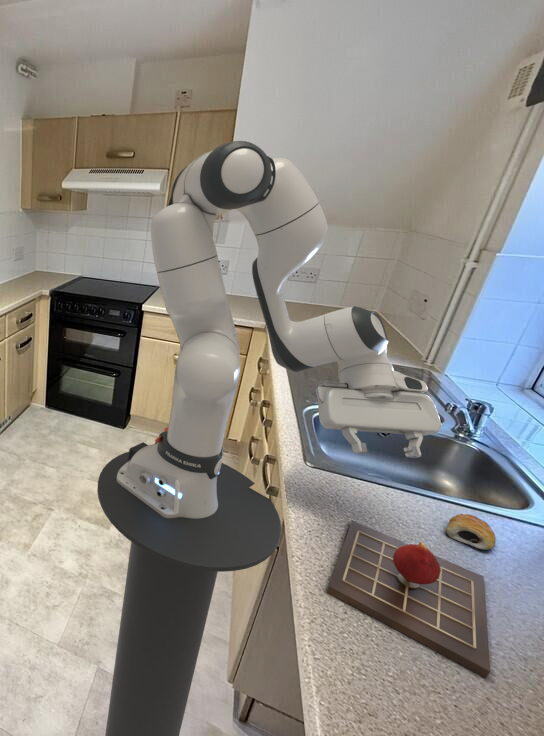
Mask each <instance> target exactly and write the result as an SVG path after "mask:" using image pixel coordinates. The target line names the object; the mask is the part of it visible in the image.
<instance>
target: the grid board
mask: <svg viewBox="0 0 544 736" xmlns="http://www.w3.org/2000/svg"><path fill="white" fill-rule="evenodd" d="M408 544H409V543H406V542H404V541H402V540H399V539H398V538H396V537H392V536H390V535H388V534H386V533H383V532H381V531H379V530H376V529H375V528H371V527H370V526H367V525H365V524H362V523H360V522H357V521H356V520H353V519H352V520H351V522H350V524H349V527H348V529H347V533H346V535H345V538H344V542H343V545H342V547H341V551H340V553H339V556H338V559H337V562H336V565H335V567H334V570H333V574H332V576H331V580H330V583H329V585H328V588H327V590H326V592H327V594H329V595H331V596H333V597H334V598H337V599H338V600H340V601H342V602H344V603H346V604H349V605H350V606H351V607H353V608H355V609H357V610H359V611H360V612H363V613H364V614H366V615H368V616H370V617H372V618H374V619H376V620H377V621H379V622H381V623H382V624H384V625H387V626H389V627H390V628H392V629H394V630H396V631H398V632H399V633H402V634H403V635H405V636H407V637H409V638H410V639H413V640H415V641H417V642H418V643H420V644H422V645H424V646H425V647H427V648H429V649H431V650H433V651H435V652H437V653H438V654H441V655H442V656H444V657H446V658H448V659H449V660H452V661H453V662H455V663H457V664H459V665H461V666H463V667H465V668H466V669H468V670H470V671H472V672H473V673H475V674H478V675H479V676H481V677H482V678H485V679H487V678H488V675H489V674H490V673H491V664H490V647H489V634H488V620H487V605H486V590H485V577H484V575H481V574H479V573H477V572H474V571H472V570H470V569H468V568H465V567H463V566H461V565H458V564H456V563H453V562H451V561H448V560H447V559H445V558H442V557H439V556H437V555H435V554H434V556H435V558H436V559H437V561H438V562H439V565H440V568H441V572H440V576H439V577H438V579H437V580H436V581H435V582H434V583H431V584H416V583H412V582H409V581H407V580H406V579H405V578H404V577H403V576H402V575H401V574H400V573H399V572H398V570H397V569H396V567H395V565H394V561H393V556H394V553H395V552H396V550H397V549H398V548H399V547H401V546H404V545H408Z"/></svg>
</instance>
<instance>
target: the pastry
mask: <svg viewBox="0 0 544 736" xmlns="http://www.w3.org/2000/svg"><path fill="white" fill-rule="evenodd" d="M445 532H446V534H447V536H448V537H449V538H451V539H453V540H456V541H458V542H460V543H462V544H466V545H469V546H471V547H474V548H476V549H479V550H486V551H487V550H490V549H493V548H495V546H496V540H497V538H496V534H495V532H494V530H492V528H491V526H490V525H489V524H488V522H487V521H484V520H482V519H481V518H479V517H478V516H475V515H474V514H469V513H465V514H464V513H460V514H459V513H458V514H456V515H454V516H452V517H451V518H450V519H449V520H448V523H447V526H446V528H445Z"/></svg>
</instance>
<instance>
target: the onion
mask: <svg viewBox="0 0 544 736" xmlns="http://www.w3.org/2000/svg"><path fill="white" fill-rule="evenodd" d="M407 544H408V545H404V546H401V547H399V548H398V549H397V550H396V552H395V553H394V556H393V561H394V565H395V567H396V569H397V570H398V572H399V573H400V574H401V575H402V576H403V577H404V578H405V579H406V580H407V581H409V582H412V583H416V584H431V583H434V582H435V581H436V580H437V579H438V577H439V576H440V572H441V568H440V565H439V562H438V561H437V559H436V558H435V556H436V555H435V554H434V553H433V552H432V551H431V550H430V549H429V548H428V547H427V545H426V543H424V542H422V541H420V542H419V543H418V544H414V543H410V544H409V543H407ZM434 555H435V556H434Z"/></svg>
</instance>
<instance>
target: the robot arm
mask: <svg viewBox="0 0 544 736" xmlns="http://www.w3.org/2000/svg"><path fill="white" fill-rule="evenodd" d="M233 210H235V211H238V212H239V213H240V214H242V216H243V217H244V218H245V219H246V220H247V222H248V224H249V226H250V229H251V230H252V233H253V234H254V237H255V239H256V242H257V248H258V252H257V253H258V254H257V257H256V258H255V259H254V260H253V262H252V266H251V274H252V275H251V276H252V280H253V285H254V289H255V292H256V296H257V299H258V300H257V301H258V302H259V307H260V310H261V313H262V316H263V319H264V323H265V326H266V330H267V334H268V336H269V338H268V339H269V343H270V349H271V354H272V356H273V358H274V361H275V362H276V364H277V365H278V366H280V367H281V368H284V369H285V370H288V371H291V372H294V373H298V372H302V371H306V370H309V369H312V368H315V367H317V366H322V365H326V364H332V363H335V362H336V363H337V366H338V367H337V368H338V369H337V376H338V379H339V382H329V381H327V382H326V381H325V382H322V383H320V384H319V385H317V386H316V388H315V393H316V398H317V400H318V402H317V404H318V406H317V407H318V418H319V423H320V426H322V427H323V428H324V429H326V430H338V431H339V430H340V431H341V434H342V436H343V437H344V438H345V439H346V441H347V442H348V443H349V444H350V445H351V449H352V452H353V453H354V454H360V455H364V454H367V453H368V450H369V449H368V448H367V447H368V446H367V443H366V442H362V441H361V440H360V439H359V437H358V436H357V434H358V432H367V433H382V434H383V433H384V434H395V435H397V434H398V435H404V436H405V439H406V440H408V441H409V442H408V446H406V447H403V451H404V453H405V454H404V455H405V457H406V458H412V459H417V458H421V457H422V452H421V449H420V447H421V445H422V441H423V440H424V436H430V435H434V434H437V433H439V432H440V430H441V429H442V422H441V418H440V415H439V412H438V409H437V407H436V404H435V403H434V401H433V399H432V398H431V397H430V396H429V395H428V394H426V393H425V392H427V391H428V389H429V388H428V385H427V383H426V382H425V381H423V380H421V379H419V378H415V377H412V376H409V375H406V374H403V373H401V372H399V371H397V370H395V369H394V366H393V364H392V362H391V361H390V359H389V358H388V354H387V352H388V343H389V338H388V335H387V332H386V329H385V326H384V323H383V321H382V318H381V317H380V316H379V315H378V314H377V313H376V312H374V311H371V310H369V309H367V308H364V307H360V306H349V307H345V308H340V309H337V310H334V311H331V312H327V313H325V314H322V315H318V316H314V317H311V318H308V319H305V320H300V321H293V320H291V319H290V315H289V312H288V308H287V304H286V301H285V299H284V298H285V297H284V294H283V289H282V285H283V283H284V282H285V281H286V280H287V279H288V278H289V277H290V276H291V275H293V274H294V273H295V272H296V271H297V270H298V269H300V268H301V267H303V266H304V265H306V263H307V262H309V261H310V260H311V259H312V258H313V257H314V256H315V255H316V254H317V252H318V251H320V249H321V247H322V246H323V245H324V242H325V240H326V239H327V235H328V230H329V225H328V222H327V218H326V215H325V212H324V210H323V208H322V205H321V204H320V201H319V199H318V198H317V196H316V194H315V192H314V190H313V188H312V187H311V185H310V184H309V182H308V180H307V179H306V177H305V176H304V175H303V173H302V172H301V171H300V170H299V168H298V167H297V166H296V165H295V164H294V162H293V161H291V160H290V159H288V158H285V157H274V158H271V157H270V156H268V155H267V154H266V152H265V151H264V150H263V149H262V148H261V147H260V146H258V145H256V144H255V143H252V142H250V141H246V140H234V141H229V142H226V143H223V144H221V145H219V146H217V147H216V148H214V149H213V150H210V151H207V152H205V153H203V154H200V156H198V157H196V158H195V159H194V160H193V161H192V162H191V163H189V164H188V165H186V166H185V167H184V168H183V169H181V171H180V172H179V173H178V174H177V176H176V177H175V179H174V181H173V183H172V187H171V192H170V197H169V201H168V203H167V206H166V207H164V208H163V209H161V210H160V211H159V212H158V213H157V214H156V215H155V216H153V219H152V220H151V223H150V241H151V251H152V256H153V262H154V268H155V272H156V275H157V279H158V283H159V287H160V291H161V295H162V299H163V302H164V306H165V310H166V313H167V314H168V316H169V317H170V320H171V322H172V325H173V327H174V330H175V332H176V335H177V338H178V341H179V342H178V343H179V347H180V348H179V354H178V356H177V358H176V362H175V370H174V378H173V387H172V397H171V399H172V400H171V407H170V408H171V409H170V413H169V414H170V415H169V419H168V420H169V421H168V426H167V427H165V428H164V429H163V430H164V431H162V432H161V433H159V434H158V436H157V437H156V438H155V440H154V443H152V444H147V443H146V442H140V443H138V444H136V445H133V446H132V447H129V450H128V452H129V457H128V459H129V460H130V461H129V462H127V463H126V464H124V465H123V466H122V467H121V468H120V470H119V471H118V474H117V478H116V481H117V483H119V484H120V485H121V486H123V487H124V488H125V489H127V490H128V491H129V492H131V493H132V494H133V495H135V496H136V497H137V498H139V499H140V500H141V501H143V502H144V503H145V504H147V505H148V506H149V507H151V508H152V509H153V510H155V511H156V512H157V513H159V514H160V515H161V516H163V517H165V518H177V517H184V518H193V519H198V518H205V517H208V516H211V515H212V514H214V513H215V512H216V510H217V508H218V500H217V475H218V474H219V471H220V468H221V463H223V456H224V446H223V444H224V439H225V434H226V430H227V425H228V420H229V415H230V413H231V410H232V405H233V403H234V399H235V394H236V391H237V386H238V382H239V378H240V374H241V355H240V354H241V352H240V351H241V349H240V348H241V346H240V342H239V338H238V333H237V330H236V326H235V323H234V318H233V313H232V310H231V306H230V303H229V300H228V296H227V291H226V287H225V282H224V279H223V274H222V270H221V266H220V265H221V264H220V260H219V256H218V252H217V248H216V244H215V241H214V224H215V221H216V218H217V216H220V215H223V214H226V213H228V212H230V211H233Z"/></svg>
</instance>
